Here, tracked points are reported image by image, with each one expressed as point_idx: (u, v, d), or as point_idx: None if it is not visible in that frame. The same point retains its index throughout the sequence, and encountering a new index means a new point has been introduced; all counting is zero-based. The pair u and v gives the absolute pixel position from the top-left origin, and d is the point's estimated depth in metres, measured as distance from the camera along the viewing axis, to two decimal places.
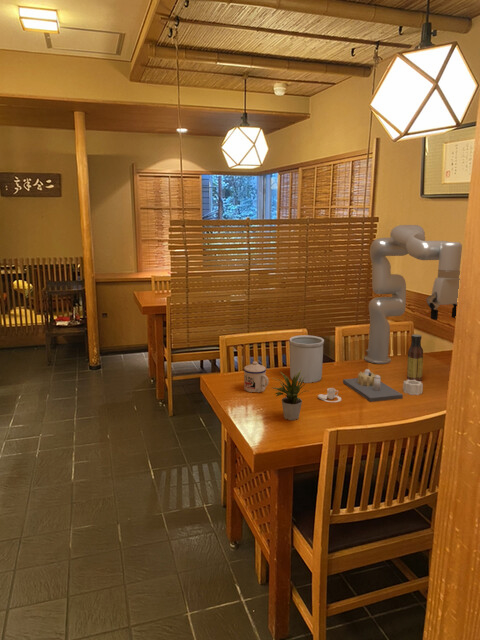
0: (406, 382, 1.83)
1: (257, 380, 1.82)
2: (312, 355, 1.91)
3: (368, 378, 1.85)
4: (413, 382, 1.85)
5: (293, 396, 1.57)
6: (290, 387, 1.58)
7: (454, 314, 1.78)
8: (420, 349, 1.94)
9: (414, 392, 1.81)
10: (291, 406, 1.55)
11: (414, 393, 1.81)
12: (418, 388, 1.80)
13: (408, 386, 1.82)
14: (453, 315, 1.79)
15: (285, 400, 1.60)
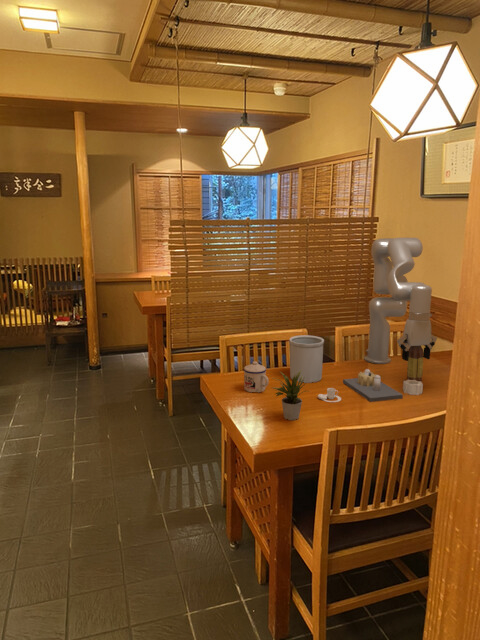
0: (406, 382, 1.83)
1: (257, 380, 1.82)
2: (312, 355, 1.91)
3: (368, 378, 1.85)
4: (413, 382, 1.85)
5: (293, 396, 1.57)
6: (290, 387, 1.58)
7: (425, 354, 1.82)
8: (420, 349, 1.94)
9: (414, 392, 1.81)
10: (291, 406, 1.55)
11: (414, 393, 1.81)
12: (418, 388, 1.80)
13: (408, 386, 1.82)
14: (424, 355, 1.82)
15: (285, 400, 1.60)
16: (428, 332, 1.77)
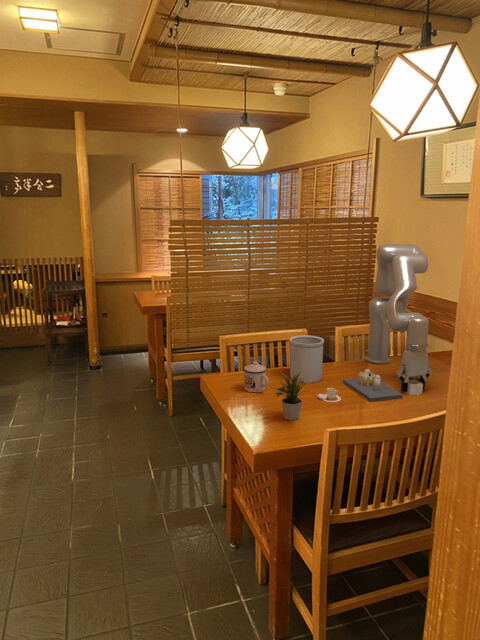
0: None
1: (257, 380, 1.82)
2: (312, 355, 1.91)
3: (368, 378, 1.85)
4: (413, 382, 1.85)
5: (293, 396, 1.57)
6: (290, 387, 1.58)
7: None
8: None
9: (414, 392, 1.81)
10: (291, 406, 1.55)
11: (414, 393, 1.81)
12: (418, 388, 1.80)
13: (408, 386, 1.82)
14: None
15: (285, 400, 1.60)
16: (425, 363, 1.80)
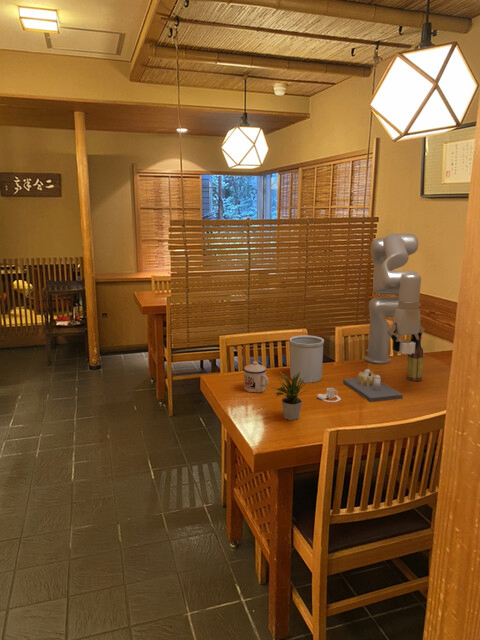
0: None
1: (257, 380, 1.82)
2: (312, 355, 1.91)
3: (368, 378, 1.85)
4: (405, 342, 1.81)
5: (293, 396, 1.57)
6: (290, 387, 1.58)
7: None
8: (420, 349, 1.94)
9: (406, 351, 1.77)
10: (291, 406, 1.55)
11: (406, 352, 1.77)
12: (410, 347, 1.76)
13: (400, 345, 1.78)
14: None
15: (285, 400, 1.60)
16: (417, 321, 1.76)
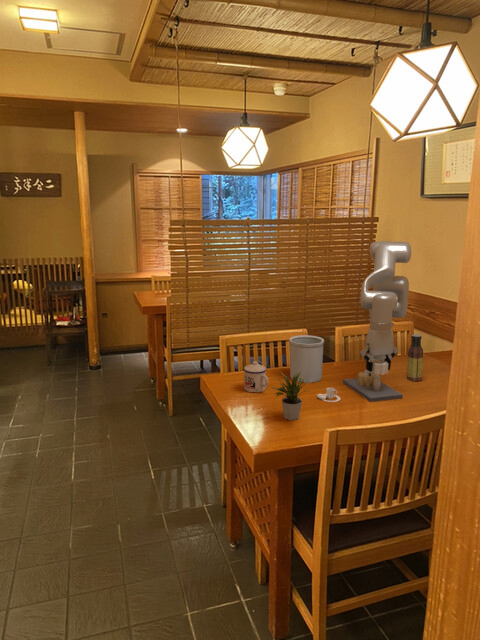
0: None
1: (257, 380, 1.82)
2: (312, 355, 1.91)
3: (368, 378, 1.85)
4: (379, 362, 1.82)
5: (293, 396, 1.57)
6: (290, 387, 1.58)
7: None
8: (420, 349, 1.94)
9: (379, 372, 1.77)
10: (291, 406, 1.55)
11: (379, 373, 1.77)
12: (383, 367, 1.76)
13: (373, 366, 1.78)
14: None
15: (285, 400, 1.60)
16: (390, 342, 1.76)
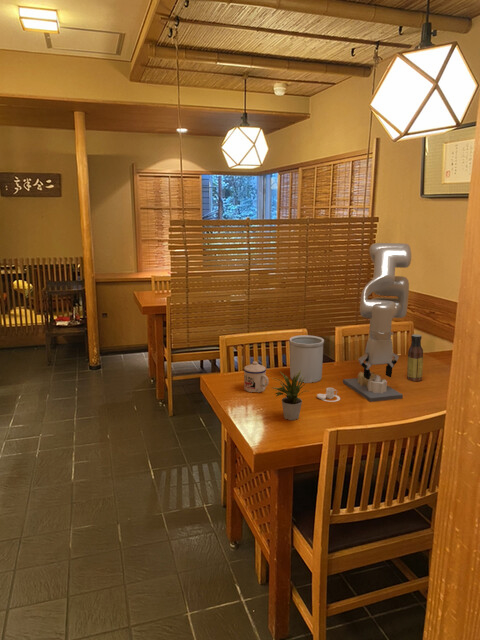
0: (370, 380, 1.81)
1: (257, 380, 1.82)
2: (312, 355, 1.91)
3: None
4: None
5: (293, 396, 1.57)
6: (290, 387, 1.58)
7: (387, 372, 1.82)
8: (420, 349, 1.94)
9: (378, 390, 1.79)
10: (291, 406, 1.55)
11: (378, 391, 1.79)
12: (382, 386, 1.78)
13: (372, 384, 1.80)
14: (387, 373, 1.82)
15: (285, 400, 1.60)
16: (389, 351, 1.77)
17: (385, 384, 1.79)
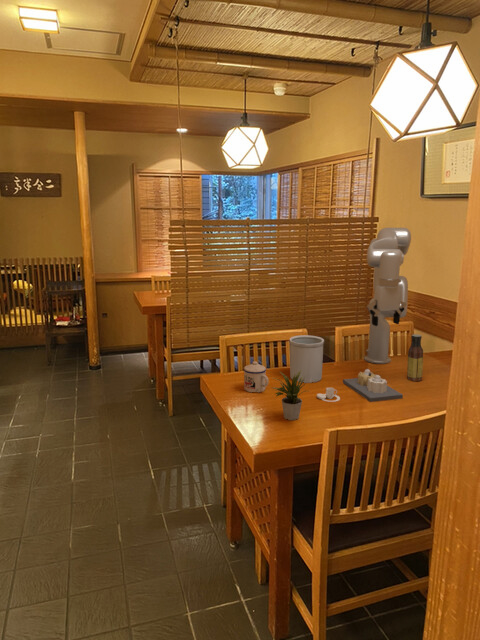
0: (370, 380, 1.81)
1: (257, 380, 1.82)
2: (312, 355, 1.91)
3: (368, 378, 1.85)
4: None
5: (293, 396, 1.57)
6: (290, 387, 1.58)
7: (395, 320, 1.86)
8: (420, 349, 1.94)
9: (378, 390, 1.79)
10: (291, 406, 1.55)
11: (378, 391, 1.79)
12: (382, 386, 1.78)
13: (372, 384, 1.80)
14: (394, 321, 1.87)
15: (285, 400, 1.60)
16: (397, 298, 1.81)
17: (385, 384, 1.79)
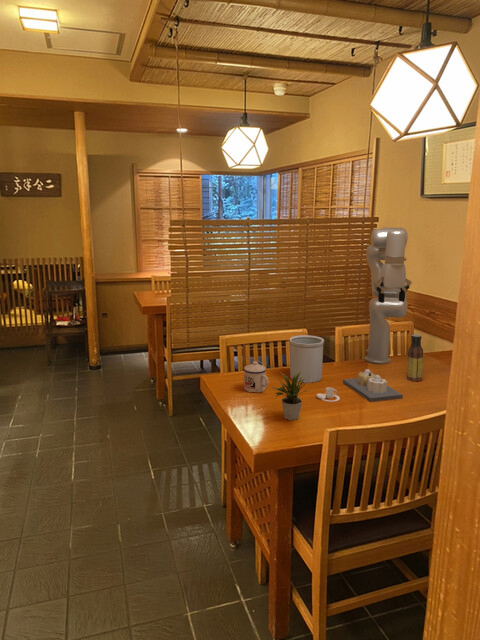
0: (370, 380, 1.81)
1: (257, 380, 1.82)
2: (312, 355, 1.91)
3: (368, 378, 1.85)
4: None
5: (293, 396, 1.57)
6: (290, 387, 1.58)
7: (400, 298, 1.92)
8: (420, 349, 1.94)
9: (378, 390, 1.79)
10: (291, 406, 1.55)
11: (378, 391, 1.79)
12: (382, 386, 1.78)
13: (372, 384, 1.80)
14: (400, 298, 1.93)
15: (285, 400, 1.60)
16: (403, 275, 1.88)
17: (385, 384, 1.79)
